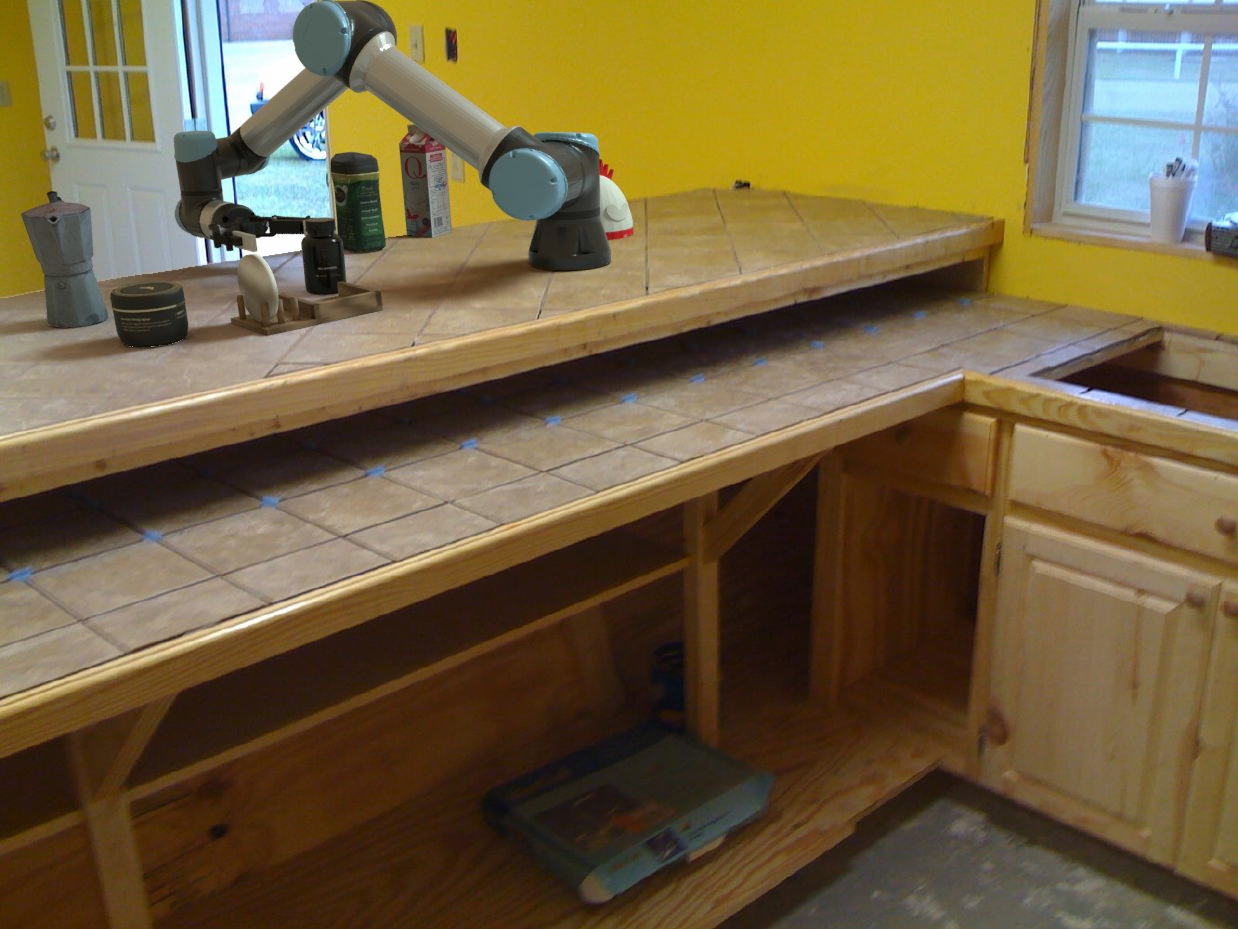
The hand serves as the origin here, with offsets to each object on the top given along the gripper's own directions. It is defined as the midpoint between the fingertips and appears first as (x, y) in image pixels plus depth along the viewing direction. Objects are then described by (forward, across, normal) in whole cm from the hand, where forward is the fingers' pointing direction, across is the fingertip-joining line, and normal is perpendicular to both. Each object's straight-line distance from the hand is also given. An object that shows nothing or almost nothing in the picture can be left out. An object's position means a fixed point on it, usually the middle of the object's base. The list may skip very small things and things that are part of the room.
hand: (290, 237), depth 204 cm
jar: (+18, +34, -8) cm, 39 cm away
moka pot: (-3, +37, -8) cm, 38 cm away
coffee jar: (-17, -25, -8) cm, 31 cm away
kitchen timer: (+8, -66, -8) cm, 66 cm away
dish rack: (+23, +11, -8) cm, 27 cm away
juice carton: (-20, -43, -8) cm, 49 cm away
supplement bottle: (+10, 0, -8) cm, 13 cm away
